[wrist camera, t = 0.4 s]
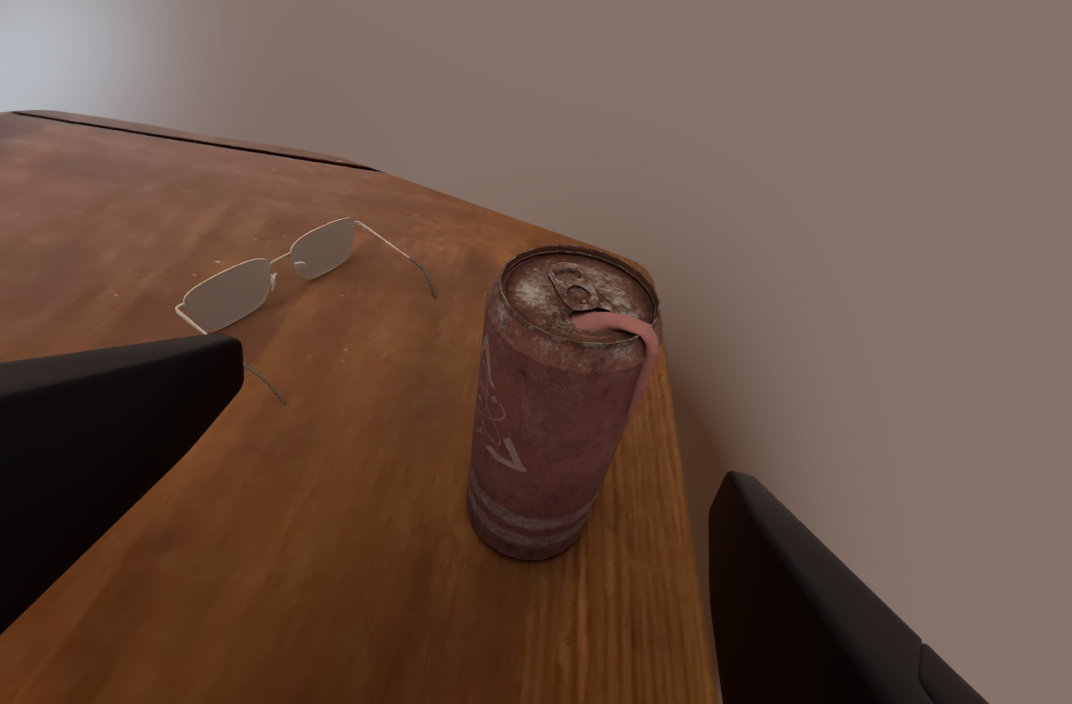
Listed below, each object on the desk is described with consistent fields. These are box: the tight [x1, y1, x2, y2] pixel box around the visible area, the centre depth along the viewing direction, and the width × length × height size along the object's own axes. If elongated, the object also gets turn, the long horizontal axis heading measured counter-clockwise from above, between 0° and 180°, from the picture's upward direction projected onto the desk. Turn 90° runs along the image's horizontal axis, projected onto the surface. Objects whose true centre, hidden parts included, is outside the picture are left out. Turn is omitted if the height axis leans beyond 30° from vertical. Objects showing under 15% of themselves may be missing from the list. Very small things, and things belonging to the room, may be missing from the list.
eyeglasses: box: [175, 218, 437, 404], centre depth 33 cm, size 14×8×4 cm, turn 149°
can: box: [467, 244, 663, 560], centre depth 22 cm, size 6×6×14 cm
